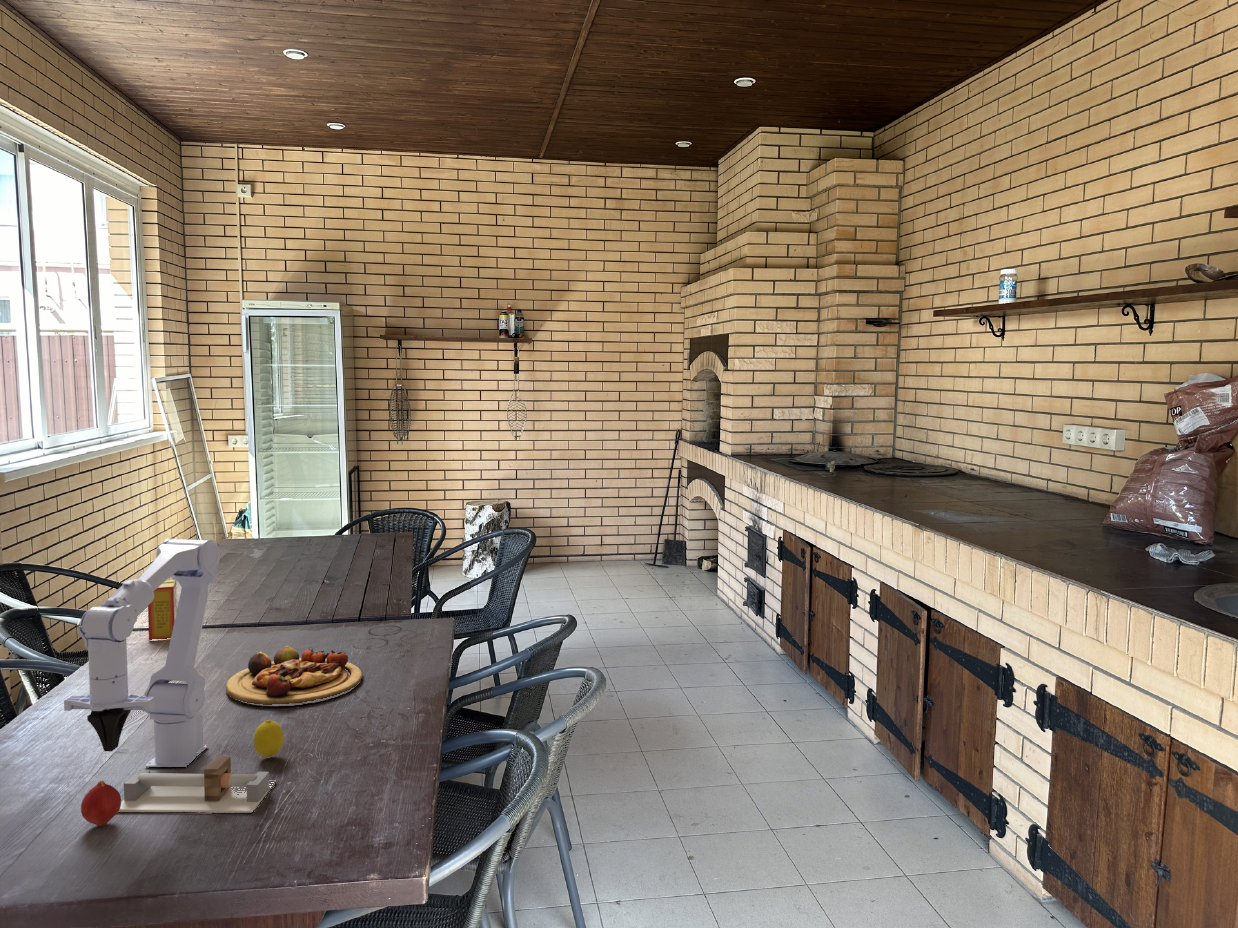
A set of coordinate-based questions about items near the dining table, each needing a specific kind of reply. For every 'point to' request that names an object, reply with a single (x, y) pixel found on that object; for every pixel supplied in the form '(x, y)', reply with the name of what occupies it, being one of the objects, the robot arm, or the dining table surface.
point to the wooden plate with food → (293, 677)
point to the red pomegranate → (101, 804)
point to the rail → (191, 792)
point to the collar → (216, 778)
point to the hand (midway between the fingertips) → (111, 748)
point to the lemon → (268, 738)
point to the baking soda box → (162, 611)
